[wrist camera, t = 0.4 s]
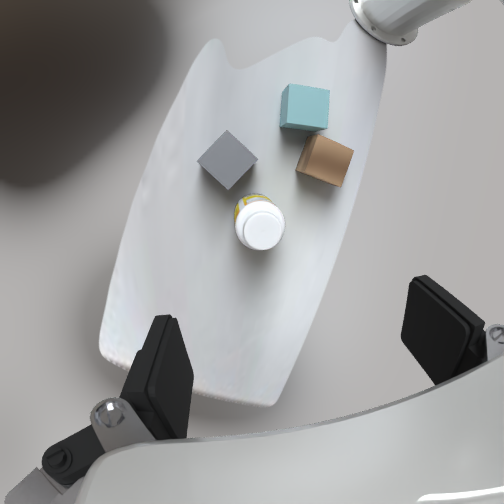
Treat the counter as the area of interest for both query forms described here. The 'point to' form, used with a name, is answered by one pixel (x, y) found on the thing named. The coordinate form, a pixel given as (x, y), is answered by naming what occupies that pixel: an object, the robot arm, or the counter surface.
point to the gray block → (227, 160)
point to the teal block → (304, 108)
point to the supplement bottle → (258, 222)
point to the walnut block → (325, 160)
